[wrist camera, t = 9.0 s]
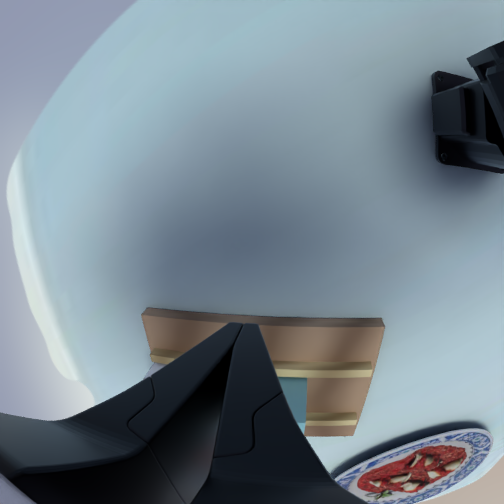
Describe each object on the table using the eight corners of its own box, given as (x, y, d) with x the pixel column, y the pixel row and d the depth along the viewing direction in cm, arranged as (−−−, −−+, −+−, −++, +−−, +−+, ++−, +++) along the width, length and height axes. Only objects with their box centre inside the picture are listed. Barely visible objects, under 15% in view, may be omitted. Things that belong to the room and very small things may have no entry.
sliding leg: (307, 374, 22) (305, 423, 17) (299, 435, 25) (296, 476, 20) (244, 371, 23) (232, 417, 18) (249, 432, 26) (240, 472, 21)
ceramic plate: (451, 391, 23) (460, 410, 20) (504, 440, 25) (509, 453, 22) (287, 481, 32) (285, 498, 29) (384, 508, 34) (385, 520, 32)
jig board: (381, 318, 21) (387, 334, 19) (352, 427, 25) (353, 443, 23) (147, 307, 24) (135, 321, 22) (177, 413, 29) (170, 427, 26)
